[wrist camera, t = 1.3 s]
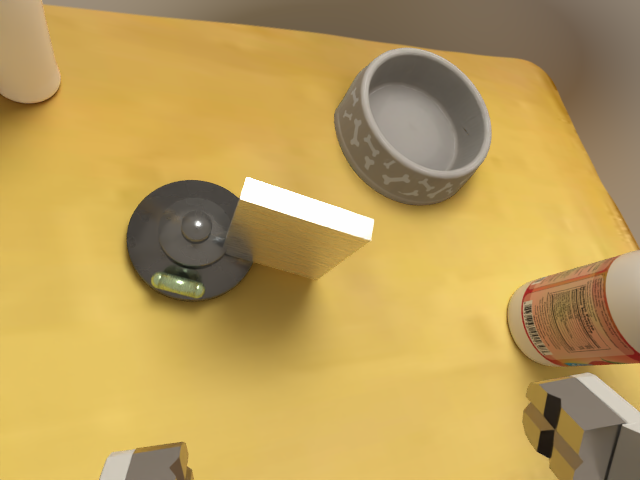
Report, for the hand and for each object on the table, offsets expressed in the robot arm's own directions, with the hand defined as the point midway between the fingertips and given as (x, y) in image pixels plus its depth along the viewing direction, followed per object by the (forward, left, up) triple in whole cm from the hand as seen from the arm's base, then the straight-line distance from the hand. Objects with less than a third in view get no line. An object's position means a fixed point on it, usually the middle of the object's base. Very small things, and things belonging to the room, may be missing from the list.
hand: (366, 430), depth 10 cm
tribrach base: (-7, +12, -28) cm, 31 cm away
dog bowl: (+12, +32, -29) cm, 45 cm away
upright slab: (-2, +12, -27) cm, 29 cm away
